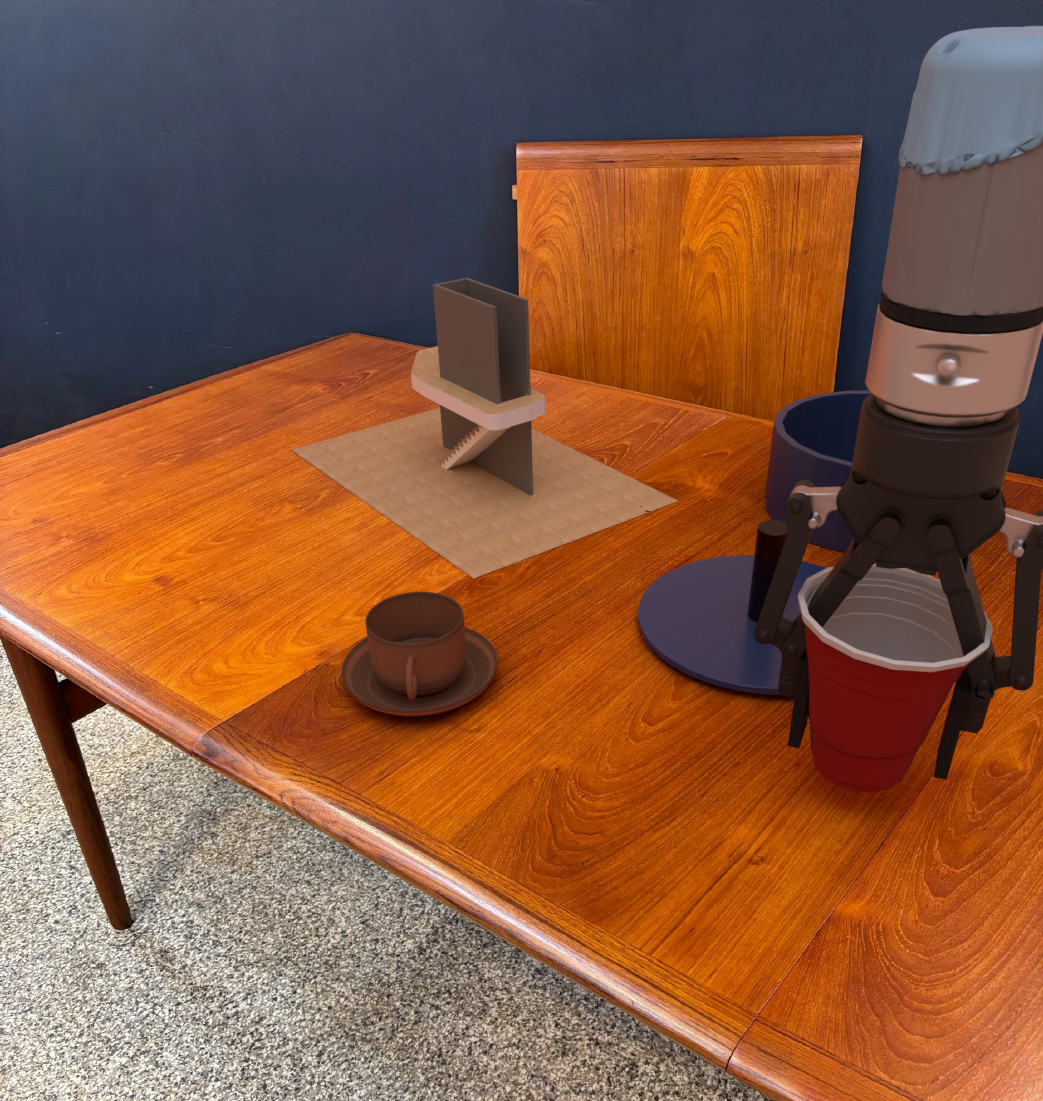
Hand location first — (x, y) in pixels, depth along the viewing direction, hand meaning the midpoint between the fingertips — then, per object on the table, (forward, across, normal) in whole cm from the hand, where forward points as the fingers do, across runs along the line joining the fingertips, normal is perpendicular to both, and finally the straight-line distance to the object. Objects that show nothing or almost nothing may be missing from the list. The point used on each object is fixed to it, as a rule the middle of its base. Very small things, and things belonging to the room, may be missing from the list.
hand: (867, 749), depth 64 cm
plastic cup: (+2, 0, 0) cm, 2 cm away
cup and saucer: (+4, -33, +2) cm, 34 cm away
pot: (+5, -5, +44) cm, 44 cm away
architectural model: (+4, -46, +39) cm, 61 cm away
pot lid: (+4, -10, +19) cm, 22 cm away
